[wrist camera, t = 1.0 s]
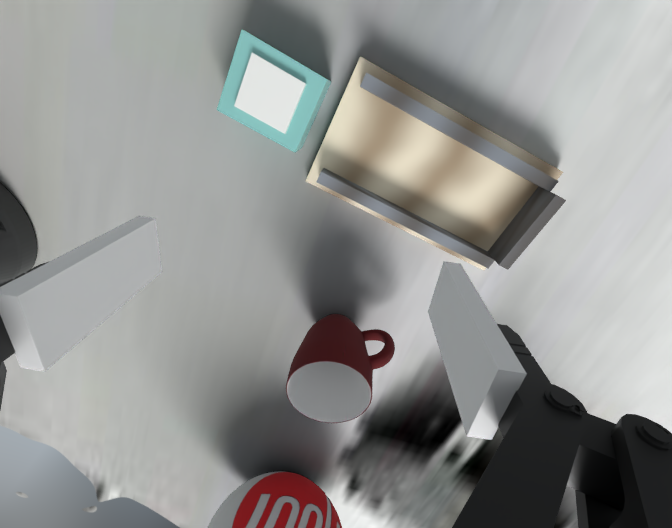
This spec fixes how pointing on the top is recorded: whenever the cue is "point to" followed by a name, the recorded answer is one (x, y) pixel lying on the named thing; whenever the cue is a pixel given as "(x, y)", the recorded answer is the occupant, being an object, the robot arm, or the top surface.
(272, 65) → the block
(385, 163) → the rail mount
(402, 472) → the top surface
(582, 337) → the top surface
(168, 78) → the top surface
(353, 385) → the mug
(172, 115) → the top surface
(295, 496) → the decorative sphere
